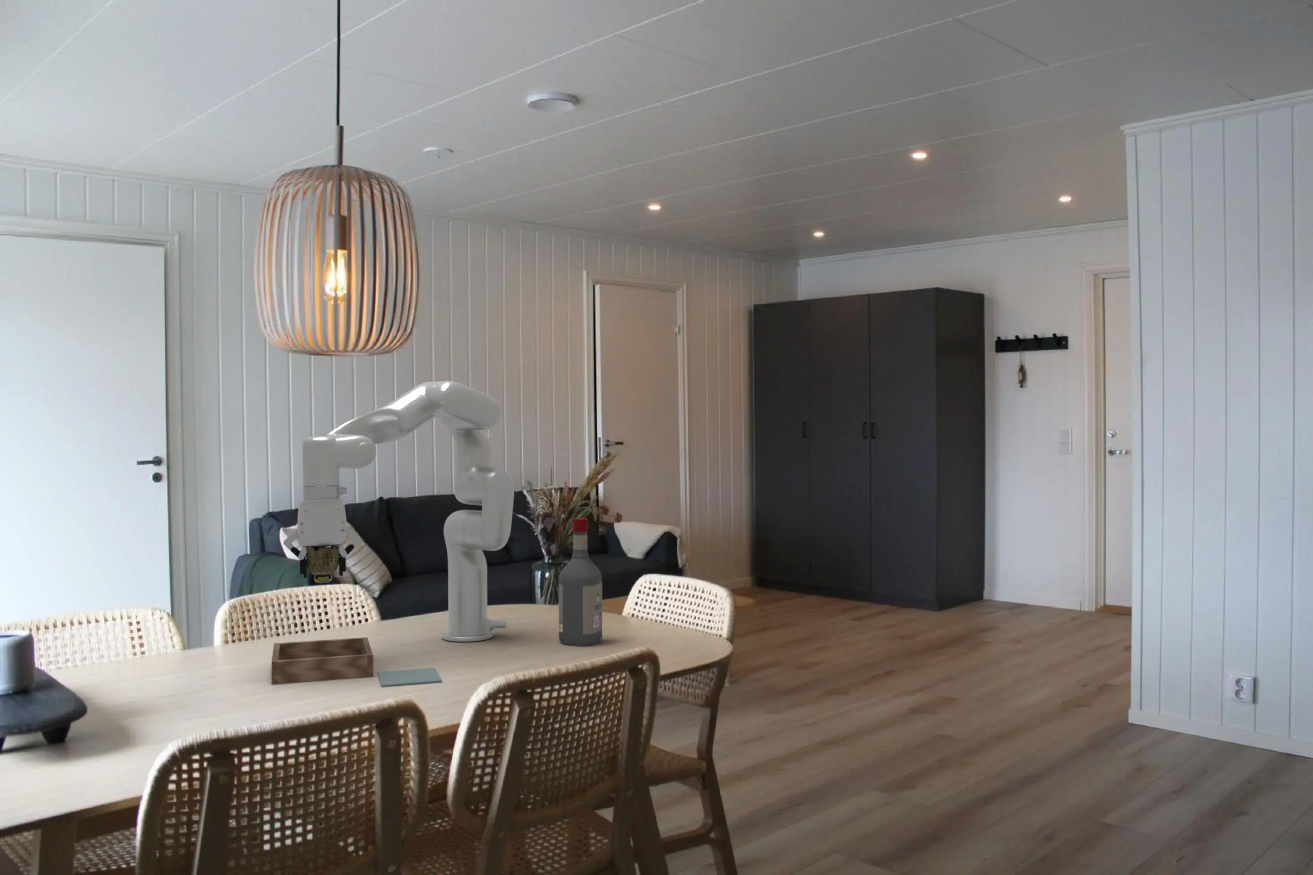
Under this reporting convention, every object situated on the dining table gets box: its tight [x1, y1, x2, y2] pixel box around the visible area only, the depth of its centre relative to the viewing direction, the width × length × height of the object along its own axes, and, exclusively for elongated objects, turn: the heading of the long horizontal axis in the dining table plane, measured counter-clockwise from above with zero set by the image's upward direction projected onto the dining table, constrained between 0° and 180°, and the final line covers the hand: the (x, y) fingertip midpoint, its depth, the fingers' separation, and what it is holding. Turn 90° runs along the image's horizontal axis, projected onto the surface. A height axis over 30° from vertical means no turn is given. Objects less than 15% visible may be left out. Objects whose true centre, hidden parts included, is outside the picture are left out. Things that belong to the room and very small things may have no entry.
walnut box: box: [271, 637, 374, 685], centre depth 227 cm, size 20×20×4 cm
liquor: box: [558, 517, 603, 647], centre depth 256 cm, size 9×9×30 cm
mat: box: [377, 667, 443, 688], centre depth 220 cm, size 12×12×1 cm
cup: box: [305, 546, 340, 584], centre depth 228 cm, size 8×7×8 cm
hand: (323, 575), depth 228 cm, fingers closed on cup, 6 cm apart
